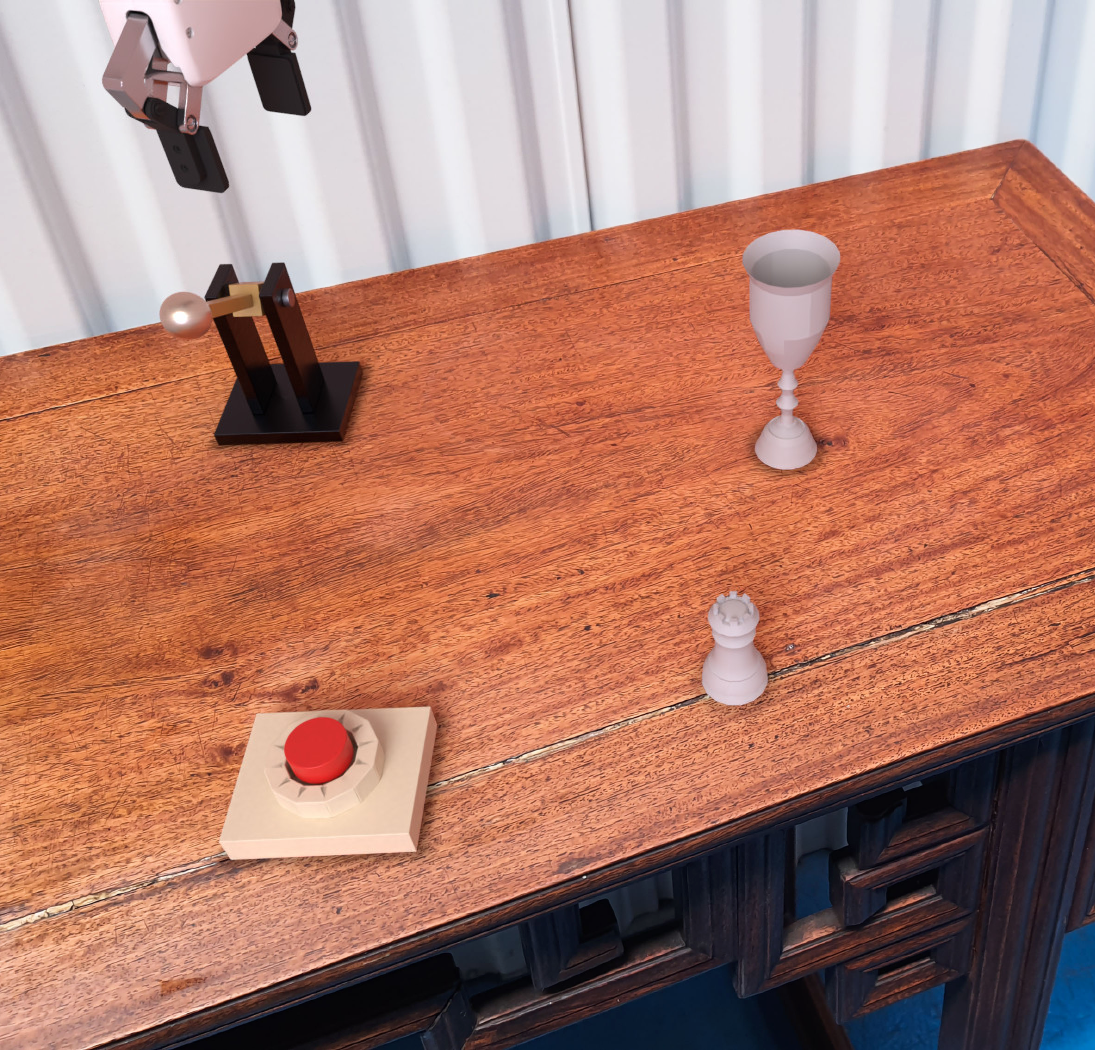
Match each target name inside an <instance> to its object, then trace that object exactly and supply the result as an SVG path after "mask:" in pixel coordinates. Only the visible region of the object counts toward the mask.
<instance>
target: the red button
mask: <svg viewBox="0 0 1095 1050" xmlns="http://www.w3.org/2000/svg"><path fill="white" fill-rule="evenodd" d="M284 754H285V757H286V759H287V761H288V763H289V765H290V766H291V768H292V770H293V772H294V774H295V775H296V777H297V778H299V779H300V780H302V781H304V782H306V783H311V784H321V783H325V782H329V781H331V780H333V779H335V778H337V777H338V776H340V775H341V774H342V773H343V772H344V771H345V770H346V769H347V768H348V767H349V765H350V763H351V761H352V758H353V754H354V749H353V745H352V743H351V741H350V738H349V736H348V734H347V732H346V729H345V728H344V726H343V725H342V724H341V723H340V722H339V721H337V720H335V719H332V718H328V717H318V718H313V719H310V720H307V721H305V722H303V723H301V724H300V725H298V726H297V727H296V728H295V729H294V730H293V731H292V732H291V733H290V734H289V736H288V737H287V739H286V742H285V746H284Z"/></svg>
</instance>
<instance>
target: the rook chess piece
mask: <svg viewBox="0 0 1095 1050" xmlns="http://www.w3.org/2000/svg"><path fill="white" fill-rule="evenodd" d="M759 621H760V611H759V609H758V607H757V606H756V604H755V603H753V602H752V601H751V597H750V596H749V595H747V593H743V594H742V595H741V596H740V595H738V591H737V590H729V595H728V596H725V595H724V593H721V594H720V595H718V596H717V597H716V601H715V602H714V603H713V604H712V605H711V606H710V608H709V610H708V612H707V622H708V623H709V626H710V627H711V635H712V637H713V640H714V646H713V648H711V650H710V651H709V653H708V654H707V656H706V657H705V659H704V661H703V664H702V672H701V685H702V688H703V689H704V691H705V693H706V694H707V695H708V696H709V697H710V698H712V699H713V700H714V701H715V702H718V703H721V704H723V705H726V706H743V705H746V704H749V703H751V702H754V701H755V700H757V699H758V698H759V697H760V696H761V695H762V694H763V693H764V691H765V690H766V688H767V686H768V682H769V681H768V680H769V679H768V677H769V676H768V671H767V670H768V669H767V663H766V661H765V659H764V657H763V656H762V653H761V652H760V651H759V650H758V648H757V647H756V646H755V643H754V638H755V637H756V633H757V631H756V630H757V625H758V624H759Z"/></svg>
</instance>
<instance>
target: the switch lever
mask: <svg viewBox="0 0 1095 1050" xmlns="http://www.w3.org/2000/svg"><path fill="white" fill-rule="evenodd" d="M264 281H265V280H264ZM264 281H261V280H260V281H241V282H240V281H239V283H236V284H231V285H229V291H230V296H228V297H224V298H220V299H216V300H212V301H208V302H206V301H205V298H204V297H201V296H200V295H198V294H196V293H193V292H190V291H179V292H175V293H172V294H170V295H168V296H167V297H166V298H165V299H164V300H163V302H162V303H161V305H160V308H159V320H160V323H161V325H162V327H163V328H164V330H165V331H166V332H167V333H168V334H169V335H170V336H172V337H174V338H176V339H179V340H183V341H193V340H198V339H200V338H202V337H203V336H205V335H206V333H208V331H209V330H210V329H211V326H212V324H213V318H215V317H219V316H223V315H226V314H230V313H233V317H249V316H252V317H264V316H266V315H265V312H264V310H263V307H262V304H261V301H260V299H259V293H260V291H261V288H262V286H263V283H264Z"/></svg>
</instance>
